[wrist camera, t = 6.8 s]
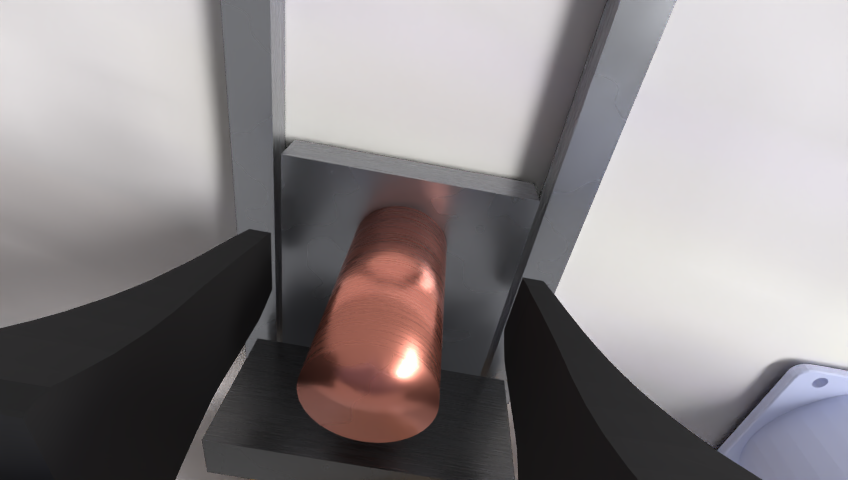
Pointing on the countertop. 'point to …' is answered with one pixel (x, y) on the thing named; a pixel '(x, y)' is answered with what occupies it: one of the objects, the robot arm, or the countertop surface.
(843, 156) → the countertop surface
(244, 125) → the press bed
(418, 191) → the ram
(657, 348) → the countertop surface
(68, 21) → the countertop surface
